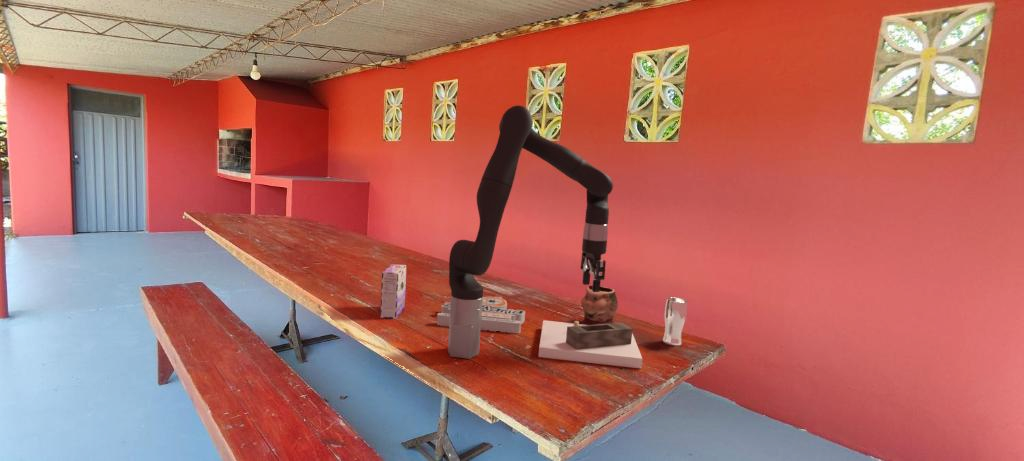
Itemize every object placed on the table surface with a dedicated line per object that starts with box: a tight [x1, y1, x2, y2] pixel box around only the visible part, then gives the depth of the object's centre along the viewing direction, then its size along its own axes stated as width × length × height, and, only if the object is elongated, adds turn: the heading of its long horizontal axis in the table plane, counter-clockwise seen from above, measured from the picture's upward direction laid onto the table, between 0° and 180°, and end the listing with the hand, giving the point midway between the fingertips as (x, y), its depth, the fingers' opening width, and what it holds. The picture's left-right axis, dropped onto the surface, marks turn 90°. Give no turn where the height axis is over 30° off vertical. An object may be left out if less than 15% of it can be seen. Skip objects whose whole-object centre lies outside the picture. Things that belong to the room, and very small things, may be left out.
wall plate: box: [538, 320, 643, 369], centre depth 157 cm, size 26×30×6 cm
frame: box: [566, 322, 633, 350], centre depth 153 cm, size 20×6×5 cm, turn 114°
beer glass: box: [662, 296, 688, 347], centre depth 166 cm, size 7×7×15 cm
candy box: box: [379, 263, 407, 320], centre depth 176 cm, size 14×6×16 cm, turn 0°
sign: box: [436, 296, 526, 335], centre depth 181 cm, size 30×4×30 cm
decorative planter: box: [580, 285, 619, 325], centre depth 180 cm, size 20×12×14 cm, turn 148°
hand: (590, 288), depth 156 cm, fingers open, 8 cm apart
